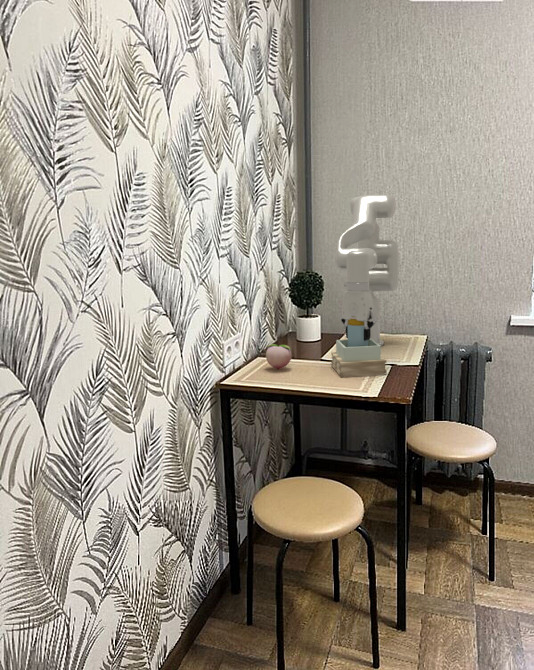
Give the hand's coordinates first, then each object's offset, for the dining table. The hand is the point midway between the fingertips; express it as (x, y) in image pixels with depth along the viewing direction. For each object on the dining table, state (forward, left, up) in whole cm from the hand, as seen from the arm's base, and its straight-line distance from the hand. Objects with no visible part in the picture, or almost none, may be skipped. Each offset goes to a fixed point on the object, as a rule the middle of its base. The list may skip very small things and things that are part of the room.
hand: (358, 338), depth 213 cm
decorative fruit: (-7, -27, -12) cm, 30 cm away
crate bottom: (0, 0, -11) cm, 11 cm away
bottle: (0, 0, -5) cm, 5 cm away
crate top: (0, 0, -6) cm, 6 cm away
